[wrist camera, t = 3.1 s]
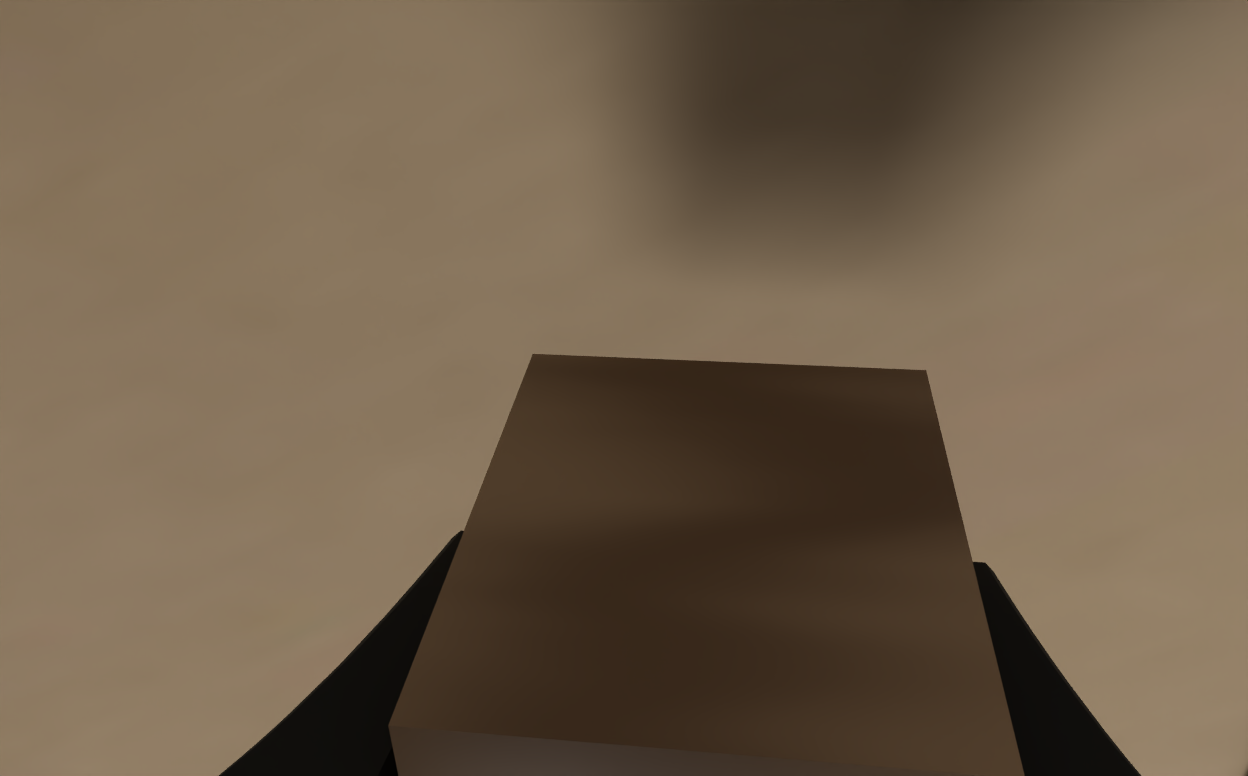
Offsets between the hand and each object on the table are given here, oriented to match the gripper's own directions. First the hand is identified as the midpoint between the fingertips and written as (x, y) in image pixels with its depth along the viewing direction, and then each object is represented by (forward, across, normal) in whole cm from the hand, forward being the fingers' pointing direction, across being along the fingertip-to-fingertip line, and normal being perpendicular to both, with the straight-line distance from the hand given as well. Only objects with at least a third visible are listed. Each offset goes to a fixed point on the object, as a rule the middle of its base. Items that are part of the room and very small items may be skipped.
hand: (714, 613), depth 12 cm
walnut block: (+2, 0, 0) cm, 2 cm away
